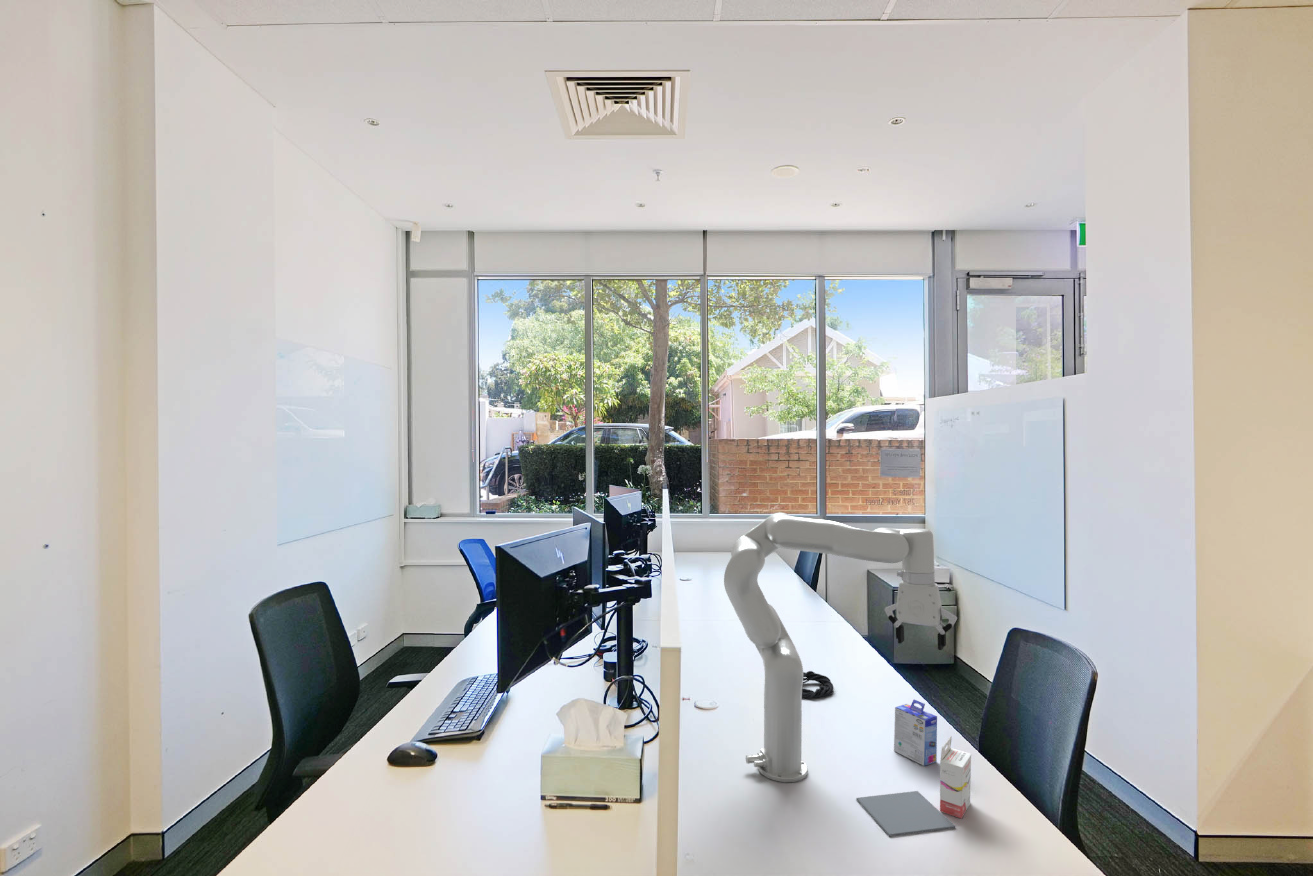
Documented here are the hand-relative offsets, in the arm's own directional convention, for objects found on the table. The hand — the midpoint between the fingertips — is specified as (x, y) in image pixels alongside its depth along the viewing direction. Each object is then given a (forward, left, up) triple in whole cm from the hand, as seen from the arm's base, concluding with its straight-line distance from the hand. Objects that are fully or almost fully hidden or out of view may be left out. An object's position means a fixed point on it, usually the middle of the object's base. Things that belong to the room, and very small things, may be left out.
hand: (920, 645), depth 160 cm
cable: (-3, +56, -34) cm, 66 cm away
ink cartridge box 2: (0, -13, -34) cm, 36 cm away
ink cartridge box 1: (+5, +9, -34) cm, 35 cm away
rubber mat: (-13, -14, -33) cm, 38 cm away
